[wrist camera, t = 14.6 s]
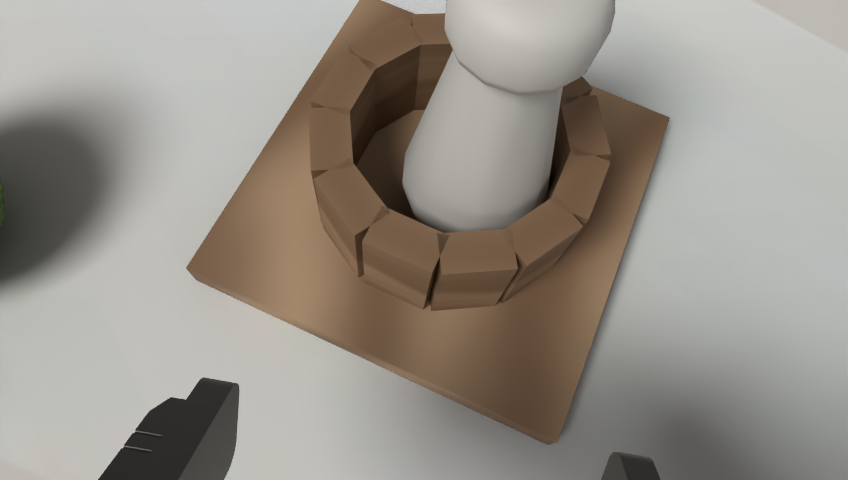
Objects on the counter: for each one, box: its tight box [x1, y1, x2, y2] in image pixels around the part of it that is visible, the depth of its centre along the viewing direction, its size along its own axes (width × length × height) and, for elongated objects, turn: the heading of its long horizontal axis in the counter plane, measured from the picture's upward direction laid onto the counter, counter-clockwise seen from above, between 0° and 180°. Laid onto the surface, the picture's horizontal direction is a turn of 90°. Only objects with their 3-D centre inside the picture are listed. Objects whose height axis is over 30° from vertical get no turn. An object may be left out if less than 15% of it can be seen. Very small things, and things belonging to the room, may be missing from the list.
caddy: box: [186, 0, 669, 445], centre depth 26 cm, size 16×16×6 cm
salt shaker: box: [402, 0, 615, 233], centre depth 21 cm, size 6×6×13 cm
